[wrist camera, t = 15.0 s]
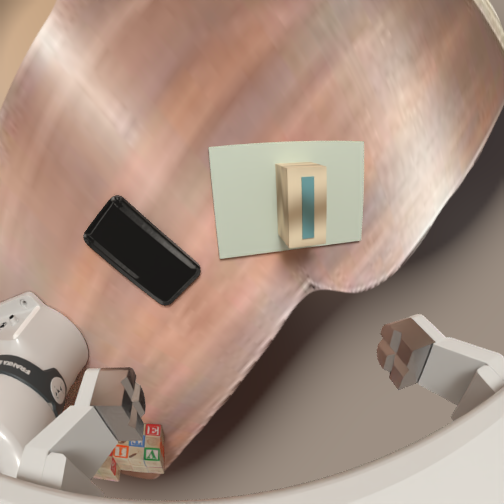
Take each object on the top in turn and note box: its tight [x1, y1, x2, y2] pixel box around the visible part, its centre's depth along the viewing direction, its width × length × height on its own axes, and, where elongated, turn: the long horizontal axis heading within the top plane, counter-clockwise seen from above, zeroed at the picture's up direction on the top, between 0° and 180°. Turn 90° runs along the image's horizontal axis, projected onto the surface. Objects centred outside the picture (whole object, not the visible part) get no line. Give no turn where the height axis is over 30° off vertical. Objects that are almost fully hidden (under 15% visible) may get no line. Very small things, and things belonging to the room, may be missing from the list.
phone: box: [84, 195, 200, 305], centre depth 36 cm, size 8×1×15 cm
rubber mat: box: [208, 141, 364, 259], centre depth 37 cm, size 20×14×1 cm
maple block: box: [275, 162, 327, 248], centre depth 35 cm, size 9×4×5 cm, turn 4°
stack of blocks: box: [93, 423, 164, 482], centre depth 44 cm, size 21×6×12 cm, turn 84°
